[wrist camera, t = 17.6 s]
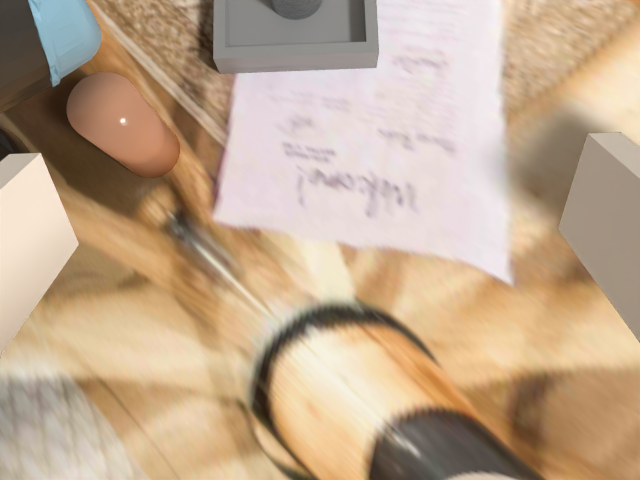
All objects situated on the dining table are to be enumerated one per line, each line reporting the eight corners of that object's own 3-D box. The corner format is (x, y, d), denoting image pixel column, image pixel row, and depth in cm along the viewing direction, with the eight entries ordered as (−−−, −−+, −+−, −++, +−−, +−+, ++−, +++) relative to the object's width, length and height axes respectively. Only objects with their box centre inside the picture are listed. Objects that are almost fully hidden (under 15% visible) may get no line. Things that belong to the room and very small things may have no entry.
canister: (122, 179, 41) (64, 141, 32) (124, 124, 42) (68, 73, 33) (179, 177, 41) (137, 138, 32) (180, 122, 42) (139, 70, 33)
